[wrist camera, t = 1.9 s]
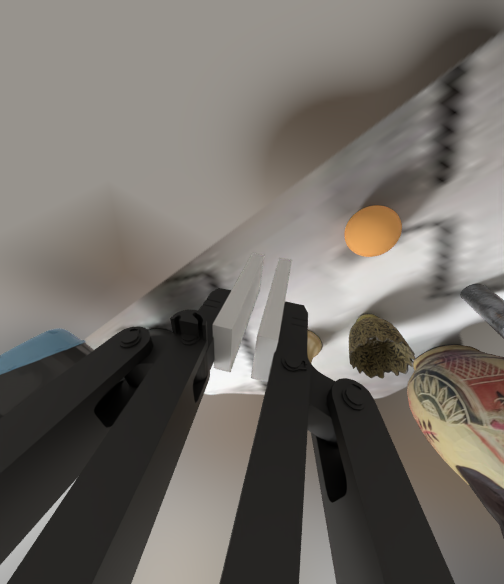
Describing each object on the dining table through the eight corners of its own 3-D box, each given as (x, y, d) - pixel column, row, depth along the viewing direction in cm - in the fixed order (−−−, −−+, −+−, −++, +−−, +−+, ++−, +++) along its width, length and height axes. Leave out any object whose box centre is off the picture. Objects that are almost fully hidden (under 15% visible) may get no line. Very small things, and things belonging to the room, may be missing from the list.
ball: (335, 242, 27) (340, 259, 23) (351, 197, 24) (360, 208, 19) (379, 249, 26) (393, 269, 22) (401, 204, 23) (422, 217, 19)
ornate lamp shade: (350, 340, 36) (358, 382, 30) (335, 310, 33) (342, 348, 27) (399, 331, 32) (421, 375, 26) (387, 296, 30) (409, 336, 23)
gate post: (455, 298, 28) (507, 350, 20) (469, 282, 26) (530, 332, 19) (477, 302, 27) (537, 356, 20) (492, 286, 26) (563, 339, 18)
